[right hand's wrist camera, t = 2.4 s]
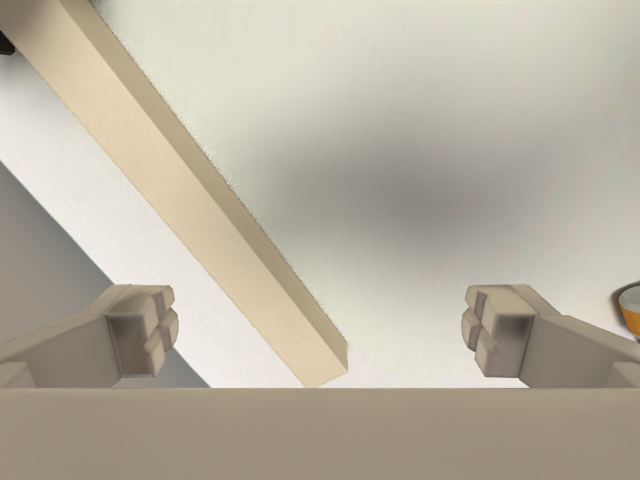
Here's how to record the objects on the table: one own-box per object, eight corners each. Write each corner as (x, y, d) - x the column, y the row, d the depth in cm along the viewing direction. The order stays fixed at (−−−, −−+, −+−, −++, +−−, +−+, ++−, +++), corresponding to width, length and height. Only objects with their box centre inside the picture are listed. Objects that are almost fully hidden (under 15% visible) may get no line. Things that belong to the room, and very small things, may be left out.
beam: (346, 341, 46) (348, 372, 41) (310, 360, 47) (308, 391, 42) (29, -78, 31) (-29, -110, 26) (-11, -35, 32) (-74, -58, 27)
